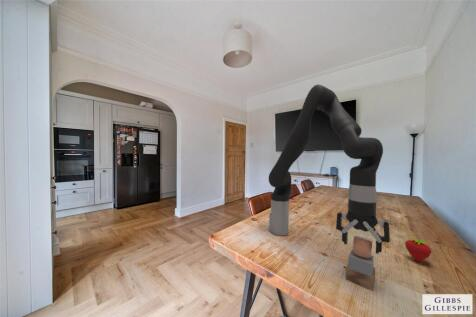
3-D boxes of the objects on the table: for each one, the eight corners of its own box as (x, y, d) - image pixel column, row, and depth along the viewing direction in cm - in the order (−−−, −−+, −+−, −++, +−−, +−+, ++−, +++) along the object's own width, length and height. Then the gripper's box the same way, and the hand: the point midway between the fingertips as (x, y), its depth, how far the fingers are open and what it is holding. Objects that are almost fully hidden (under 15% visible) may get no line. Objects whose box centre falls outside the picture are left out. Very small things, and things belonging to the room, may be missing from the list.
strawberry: (411, 255, 73) (412, 230, 73) (435, 266, 65) (436, 239, 65) (400, 256, 71) (401, 232, 71) (423, 268, 64) (424, 241, 64)
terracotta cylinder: (352, 254, 57) (353, 238, 58) (352, 249, 62) (354, 234, 62) (371, 260, 55) (373, 243, 55) (370, 254, 59) (371, 239, 59)
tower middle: (348, 268, 58) (348, 256, 58) (352, 260, 62) (352, 249, 62) (371, 277, 54) (371, 264, 54) (373, 268, 58) (373, 256, 58)
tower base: (345, 280, 58) (346, 268, 58) (350, 270, 63) (350, 259, 63) (372, 291, 53) (372, 278, 53) (375, 279, 58) (375, 267, 58)
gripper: (390, 200, 56) (389, 251, 56) (339, 193, 65) (339, 237, 66) (390, 205, 50) (388, 261, 51) (334, 197, 60) (333, 244, 60)
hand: (360, 247), depth 58 cm, fingers open, 8 cm apart
